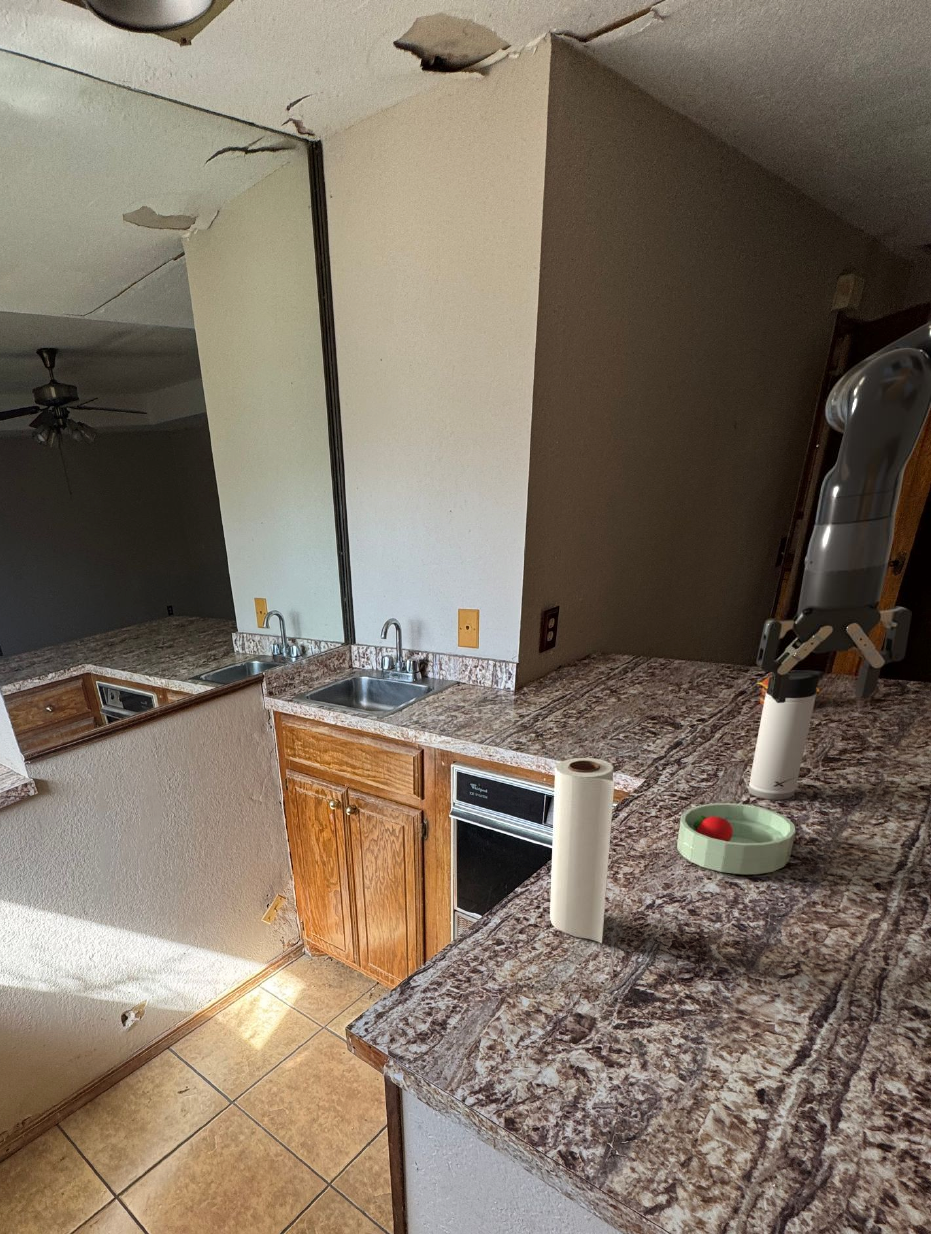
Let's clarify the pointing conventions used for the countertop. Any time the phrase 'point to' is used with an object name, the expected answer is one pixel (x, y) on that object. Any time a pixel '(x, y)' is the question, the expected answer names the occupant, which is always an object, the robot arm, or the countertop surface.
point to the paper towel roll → (581, 846)
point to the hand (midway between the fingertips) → (819, 699)
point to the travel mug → (783, 737)
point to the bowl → (738, 839)
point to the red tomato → (714, 828)
